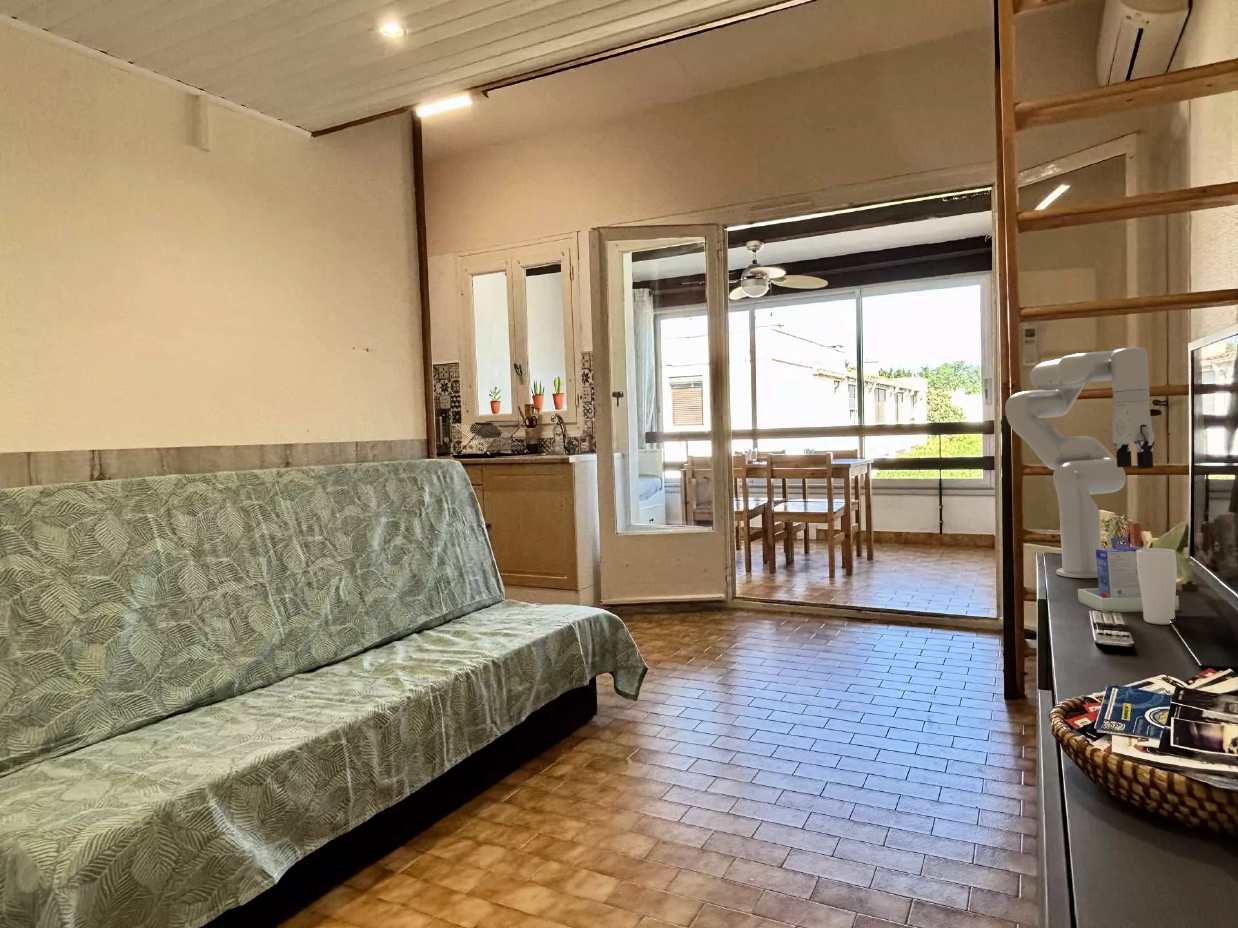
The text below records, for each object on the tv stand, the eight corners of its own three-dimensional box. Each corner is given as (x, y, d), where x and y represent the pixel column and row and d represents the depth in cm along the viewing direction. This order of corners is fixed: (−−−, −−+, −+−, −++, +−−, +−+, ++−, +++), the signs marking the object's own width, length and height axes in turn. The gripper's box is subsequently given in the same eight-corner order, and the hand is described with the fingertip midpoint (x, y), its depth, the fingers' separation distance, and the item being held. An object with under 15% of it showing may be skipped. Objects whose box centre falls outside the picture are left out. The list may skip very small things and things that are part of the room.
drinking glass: (1167, 627, 154) (1163, 553, 154) (1132, 621, 160) (1128, 550, 160) (1186, 622, 157) (1183, 549, 157) (1152, 616, 163) (1148, 547, 163)
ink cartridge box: (1141, 598, 177) (1137, 535, 177) (1156, 603, 172) (1153, 538, 171) (1097, 600, 178) (1093, 538, 177) (1110, 605, 172) (1107, 541, 172)
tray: (1078, 601, 181) (1077, 589, 181) (1149, 599, 179) (1149, 586, 179) (1102, 612, 170) (1101, 598, 170) (1179, 609, 168) (1178, 596, 168)
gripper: (1097, 401, 198) (1101, 467, 198) (1133, 397, 181) (1136, 469, 181) (1129, 399, 197) (1132, 465, 197) (1167, 395, 180) (1171, 467, 180)
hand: (1134, 467), depth 189 cm, fingers open, 9 cm apart
